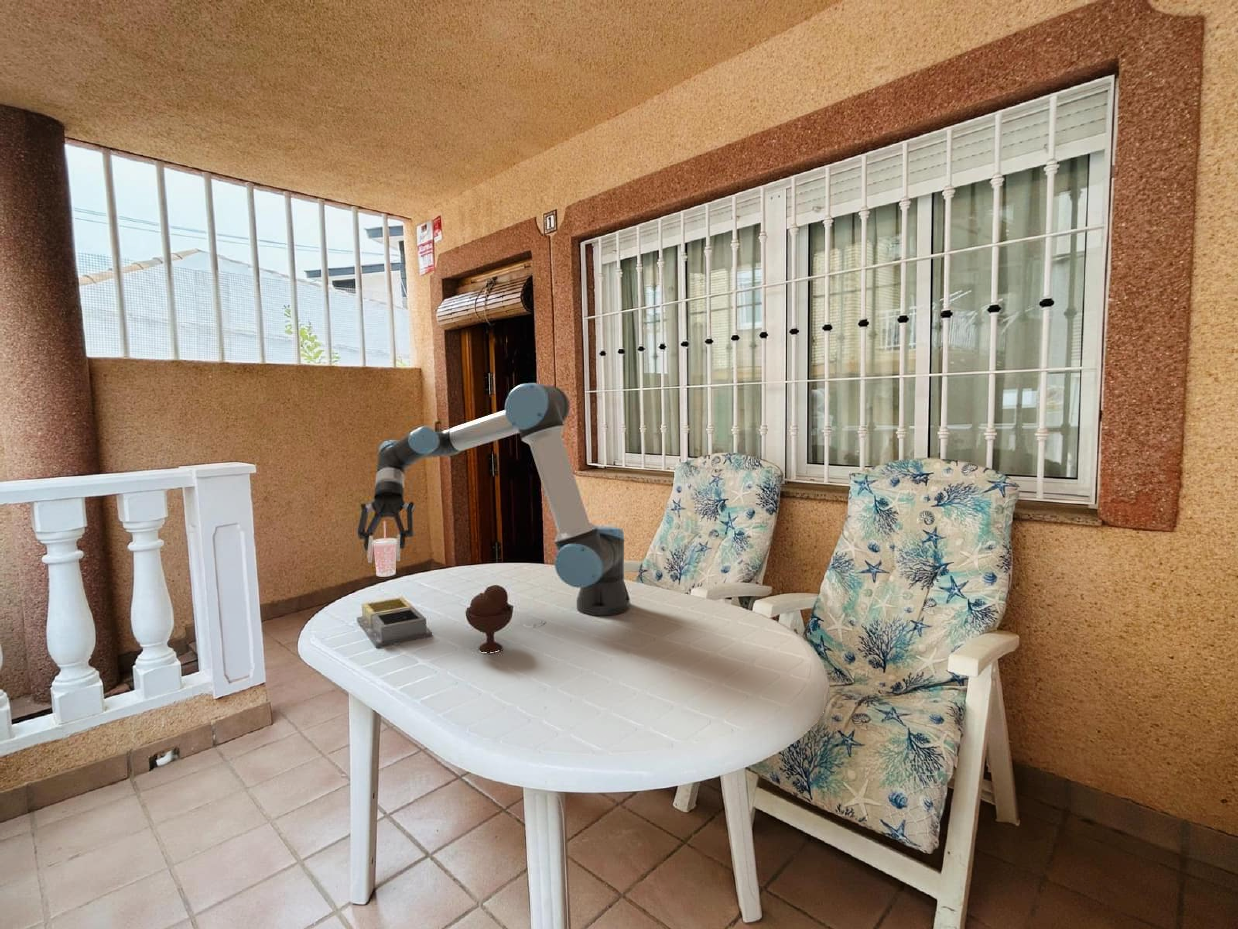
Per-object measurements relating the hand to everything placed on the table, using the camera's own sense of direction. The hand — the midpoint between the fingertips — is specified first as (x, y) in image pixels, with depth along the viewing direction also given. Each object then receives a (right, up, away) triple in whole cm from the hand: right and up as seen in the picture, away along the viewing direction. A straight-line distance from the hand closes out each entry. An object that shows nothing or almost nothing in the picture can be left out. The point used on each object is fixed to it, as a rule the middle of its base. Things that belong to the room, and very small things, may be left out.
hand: (383, 559), depth 147 cm
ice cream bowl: (+30, -19, -13) cm, 38 cm away
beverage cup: (-1, -5, +4) cm, 6 cm away
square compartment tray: (+2, -18, 0) cm, 18 cm away
